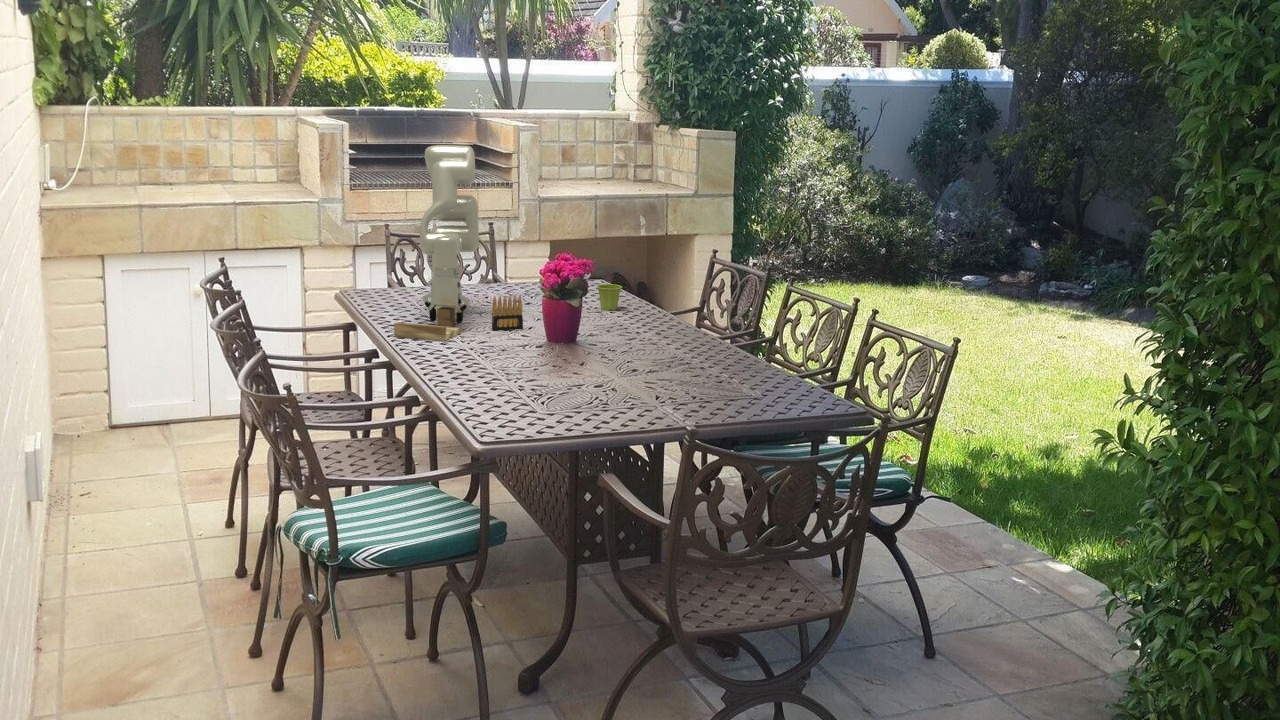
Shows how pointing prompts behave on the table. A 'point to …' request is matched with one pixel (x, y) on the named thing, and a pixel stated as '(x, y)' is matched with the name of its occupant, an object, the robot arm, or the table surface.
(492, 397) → the table surface
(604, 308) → the plant pot
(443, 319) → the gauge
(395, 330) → the board
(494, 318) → the ammunition clip
